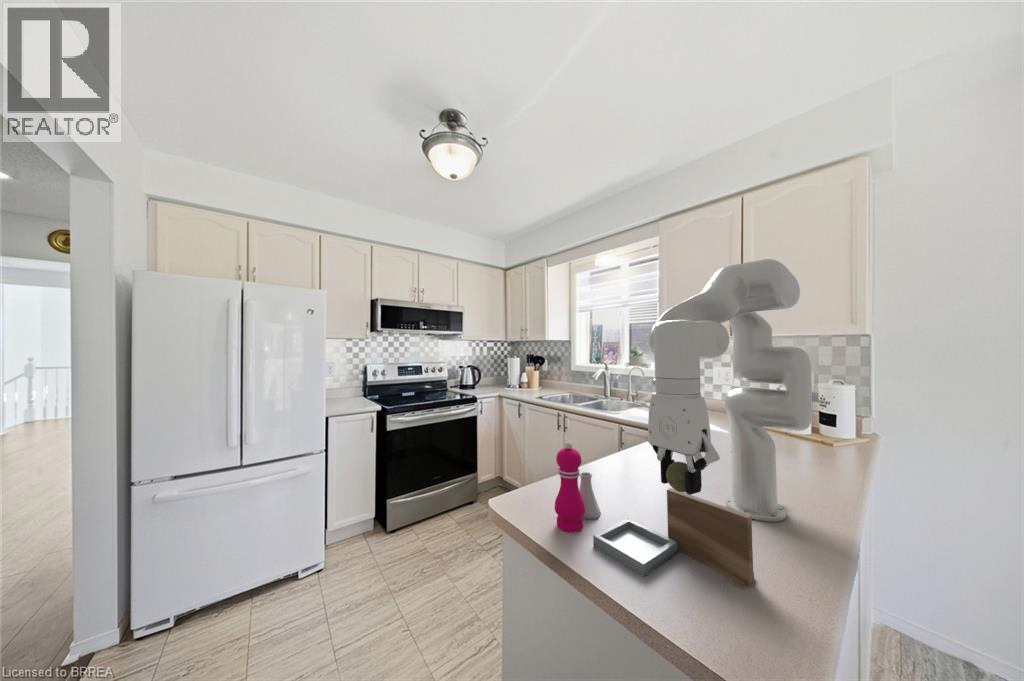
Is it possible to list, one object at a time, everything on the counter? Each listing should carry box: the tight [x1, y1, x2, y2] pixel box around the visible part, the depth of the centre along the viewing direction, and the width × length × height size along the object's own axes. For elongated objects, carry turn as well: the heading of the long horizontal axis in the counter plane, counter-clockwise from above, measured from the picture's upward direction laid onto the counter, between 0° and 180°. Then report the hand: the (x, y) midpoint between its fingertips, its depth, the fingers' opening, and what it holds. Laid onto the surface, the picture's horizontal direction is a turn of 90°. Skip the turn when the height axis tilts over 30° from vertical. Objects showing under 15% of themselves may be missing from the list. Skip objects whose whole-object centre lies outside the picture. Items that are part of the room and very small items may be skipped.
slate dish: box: [592, 518, 678, 578], centre depth 70 cm, size 12×12×2 cm
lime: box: [666, 461, 688, 493], centre depth 61 cm, size 4×5×5 cm
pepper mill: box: [554, 441, 585, 534], centre depth 80 cm, size 7×7×20 cm
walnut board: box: [666, 487, 755, 590], centre depth 65 cm, size 5×15×12 cm, turn 35°
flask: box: [579, 471, 602, 520], centre depth 86 cm, size 7×7×10 cm
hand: (680, 486), depth 61 cm, fingers closed on lime, 4 cm apart
